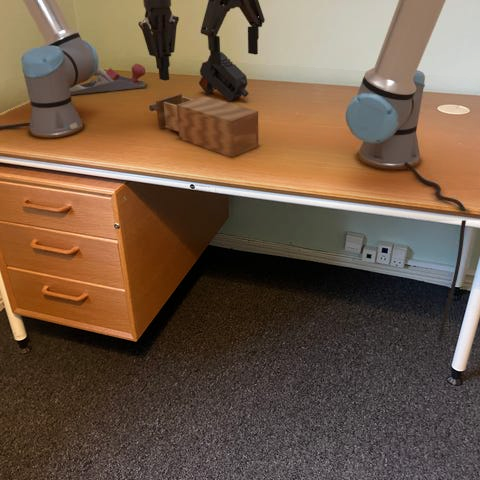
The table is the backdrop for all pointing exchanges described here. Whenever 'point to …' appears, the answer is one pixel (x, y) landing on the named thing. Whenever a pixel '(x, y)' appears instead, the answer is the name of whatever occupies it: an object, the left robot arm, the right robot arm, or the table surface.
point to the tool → (223, 78)
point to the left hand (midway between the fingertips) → (164, 79)
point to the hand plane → (111, 81)
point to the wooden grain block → (218, 125)
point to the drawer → (168, 111)
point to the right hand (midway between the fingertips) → (234, 58)
